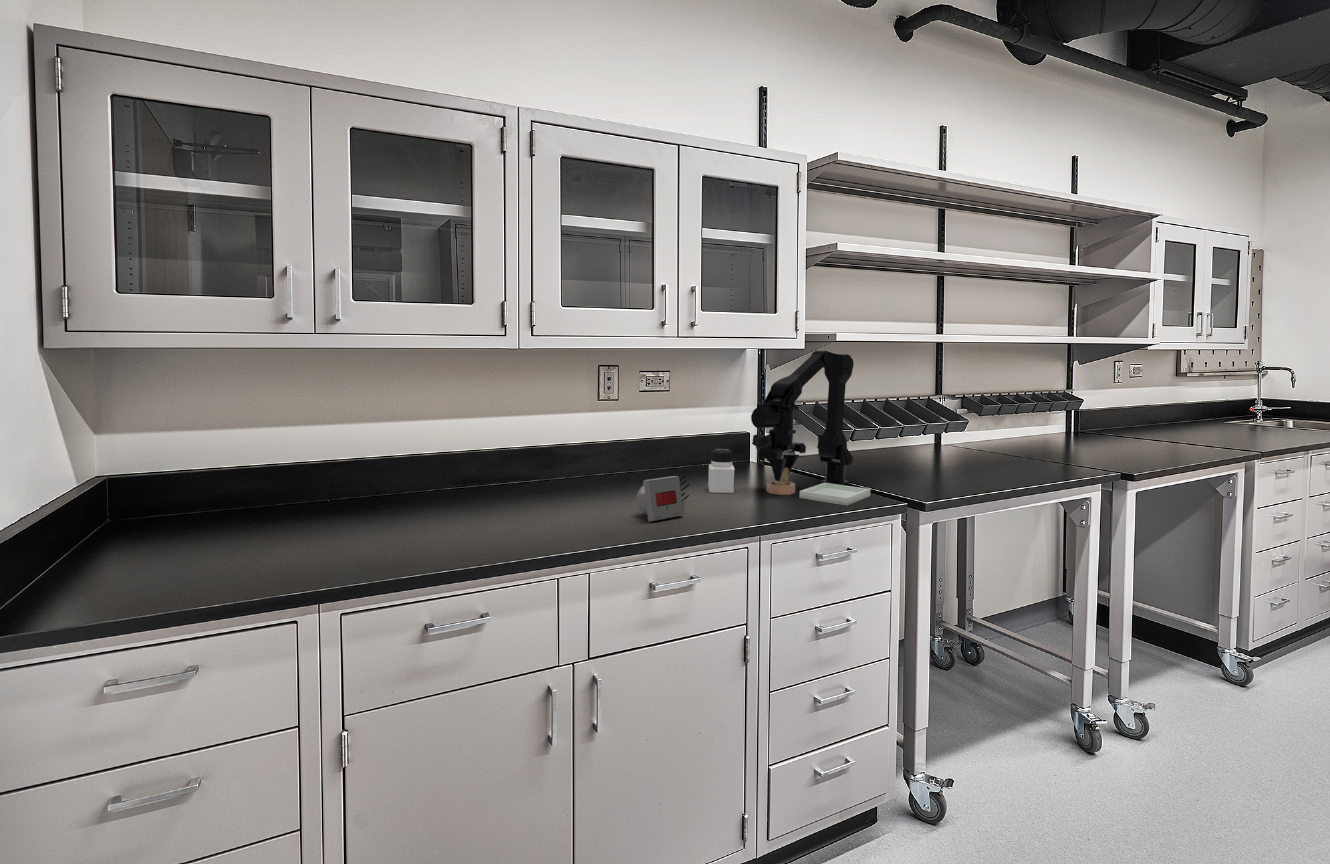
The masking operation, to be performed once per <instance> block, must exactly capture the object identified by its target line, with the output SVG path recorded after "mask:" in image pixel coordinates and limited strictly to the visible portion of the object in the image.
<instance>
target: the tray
mask: <svg viewBox="0 0 1330 864" xmlns="http://www.w3.org/2000/svg"><path fill="white" fill-rule="evenodd" d="M870 496H871V488H866V487H860V486H859V487H857V486H851V485H844V484H842V485H837V484H830V483H823V482H821V483H819V484H816V485H813V486H810V487H808V488H805V489H802V490H801V489H800V490H799V499H801V500H802V499H804V500H809V501H817V502H822V503H828V504H835V505H841V506H846V507H847V506H850V505H853V504H854V503H857V502H859V501H862V500H864V499H867V498H869V497H870Z"/></svg>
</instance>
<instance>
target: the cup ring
mask: <svg viewBox="0 0 1330 864" xmlns="http://www.w3.org/2000/svg"><path fill="white" fill-rule="evenodd" d="M765 488H766V489H765V490H766V492H767V493H769V494H773V495H777V496H778V495H780V496H783V495H784V496H785V495H787V496H789V495H790V496H791V495H793V494H796V483H794V482H793V481H788V485H774V480H770V481H767V482H766V487H765Z"/></svg>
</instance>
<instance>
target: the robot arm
mask: <svg viewBox="0 0 1330 864" xmlns="http://www.w3.org/2000/svg"><path fill="white" fill-rule="evenodd" d="M823 368H824V370H823V371H824V376H825V378H826V380H827V381H828V392H827V405H826V406H827V407H826V419H825V429H824V432H822V434H819V435H818V437H817V445H816V448H817V451H818V455H819V459H820V460H819V461H820V462H821V463H826V466H825V467H826V468H825V479H822V480H821V481H820V482H821V483H830V484H837V485H844V484H847V483H850V480H848V479H847V480H846V478H845V477H846V466H850V465H852V463H853V460H854V457H853V455H852V454H851V452H850V450H848V441H847V440H848V439H847V438H846V435H845V434H844V431H843V428H844V427H843V426H844V411H845V396H846V387H847V382H849V380H850V378H851V377H852V375H853V369H854V359H853V358H852V356H851V354H848V353H847V354H845V353H835V352H834V353H833V352H830V351H828V350H814V351H813V352H812V353H811V355H810V356H809V357H808V358H807V359H806V360H805V361H804V362H803V363H802V364H800V366H798V367H797V368H796V369H795V370H794V371H793V372H792V373H791V374H790V375H788V376H784V377H782V378H780V379H778V380H777V381H775V382H773V383H772V385H771V387H770V390H769V392H768V393H767V395H766V397H765V399H764V401H763V403H757V404H756V408H754V410H752V413H751V415H750V420H751V423H752V425H753V426H754V427H755V428H757V429H765V428H766V429H767V428H770V429H769V431H768V434H767V435H766V434H765V435H762V434H761V433H757V434H754V435H752V436H753V437H752V442H751V444H752V445H753V446H755V449H756V450H757V452H756V457H757V458H759V459H764V460H767V461H768V462H769V464H770V466H771V468H772V473H773V478H774V477H775V480H776V481H780V478H781V475H782V472H783V469H784V467H787V468H788V476H789V475H790V472H791V471H792V469H793V467H794V465H795V463H796V462H797V461H798V458H800V454H806V451H807V446H806V445H805V443H804V442H797V441H796V442H795V441H794V440H793V439H794V434H796V433H797V432H796V431H797V429H794V416H795V415H794V414H795V413H794V412H795V411H799V410H800V407H799V406H798V405H797V404H796V401H797V400H798V399H799V397H800V395H801V394H802V393H803V387H804V386H805V385H806V384H807V383H808V382H809V381H810V380H811V379H812V378H813V377H814V376H816V375H817V373H819V372H820V371H821V370H822V369H823ZM797 452H799V454H796V453H797Z"/></svg>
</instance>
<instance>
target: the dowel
mask: <svg viewBox="0 0 1330 864" xmlns="http://www.w3.org/2000/svg"><path fill="white" fill-rule="evenodd" d="M773 481H774V485H788V482H789V475H788V468H787V467H784V469H783V472H782V475H781V478H780V481H776V480H775V477H774V476H773Z"/></svg>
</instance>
